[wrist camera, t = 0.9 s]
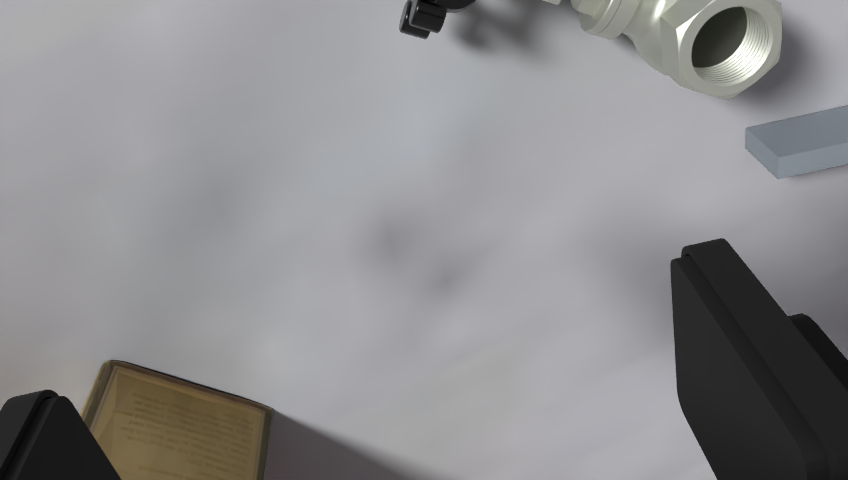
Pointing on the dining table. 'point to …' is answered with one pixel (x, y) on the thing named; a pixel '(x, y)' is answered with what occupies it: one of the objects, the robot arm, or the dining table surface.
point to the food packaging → (174, 427)
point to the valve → (664, 35)
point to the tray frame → (801, 143)
